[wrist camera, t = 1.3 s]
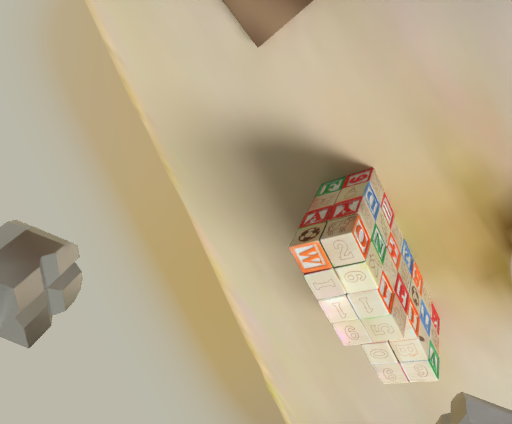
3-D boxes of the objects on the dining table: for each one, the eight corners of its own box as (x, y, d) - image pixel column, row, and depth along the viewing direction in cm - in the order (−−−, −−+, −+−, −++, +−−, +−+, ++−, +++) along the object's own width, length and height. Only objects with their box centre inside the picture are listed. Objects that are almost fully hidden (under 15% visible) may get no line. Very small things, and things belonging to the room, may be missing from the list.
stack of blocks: (441, 318, 54) (438, 407, 45) (390, 324, 57) (377, 408, 48) (373, 165, 47) (351, 232, 37) (319, 182, 50) (286, 248, 41)
